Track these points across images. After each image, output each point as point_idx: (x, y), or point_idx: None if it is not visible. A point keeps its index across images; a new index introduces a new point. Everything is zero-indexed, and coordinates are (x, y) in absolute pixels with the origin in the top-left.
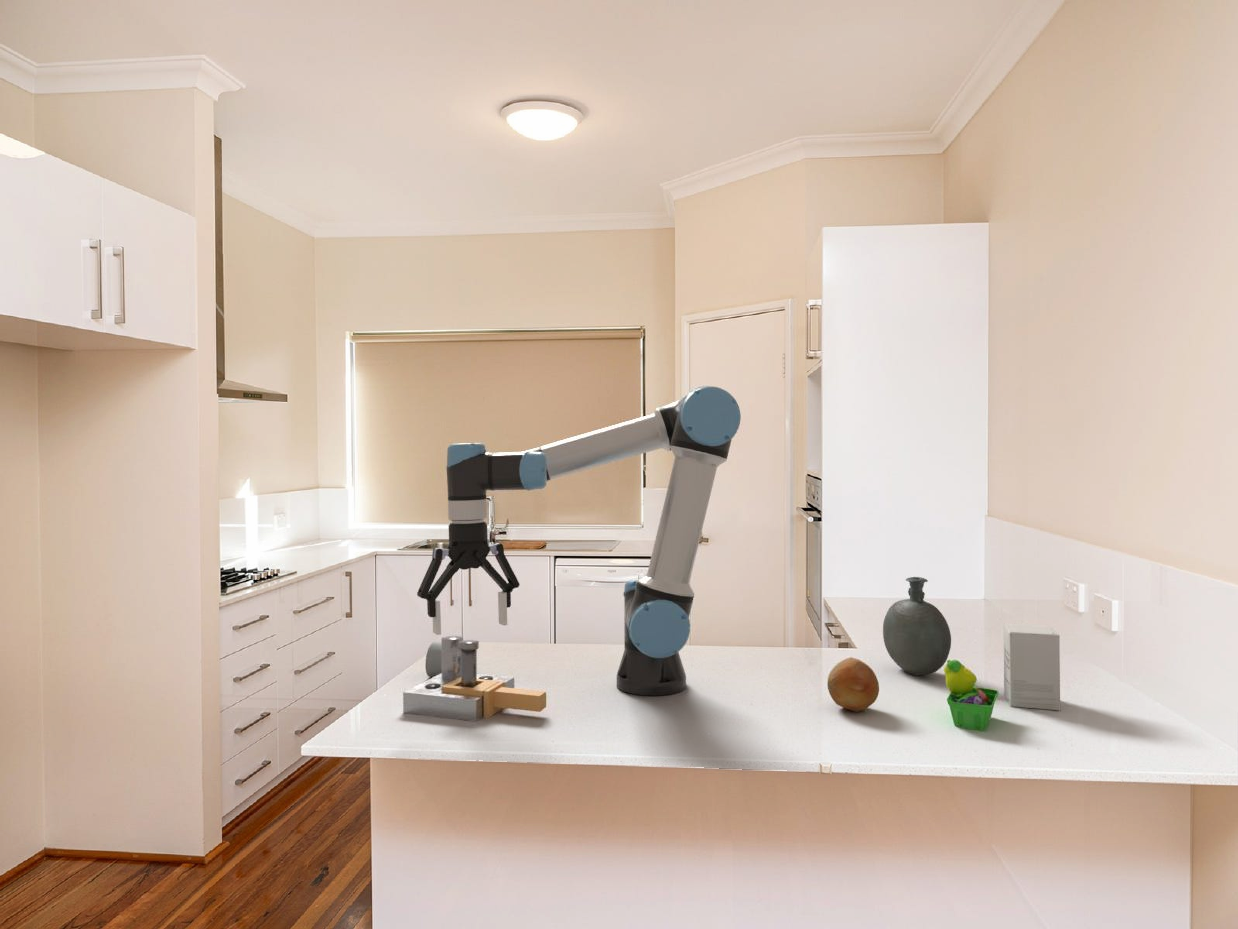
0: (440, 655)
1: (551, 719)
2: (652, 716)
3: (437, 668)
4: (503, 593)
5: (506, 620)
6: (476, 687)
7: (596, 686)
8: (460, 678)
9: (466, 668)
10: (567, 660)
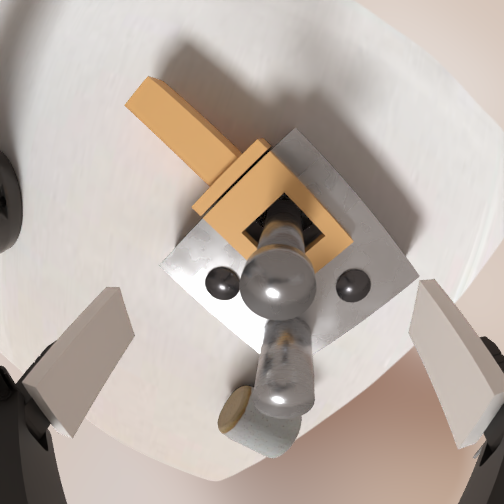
0: (275, 424)
1: None
2: (25, 60)
3: None
4: (34, 385)
5: (99, 297)
6: (275, 190)
7: (43, 233)
8: None
9: (295, 233)
10: None
